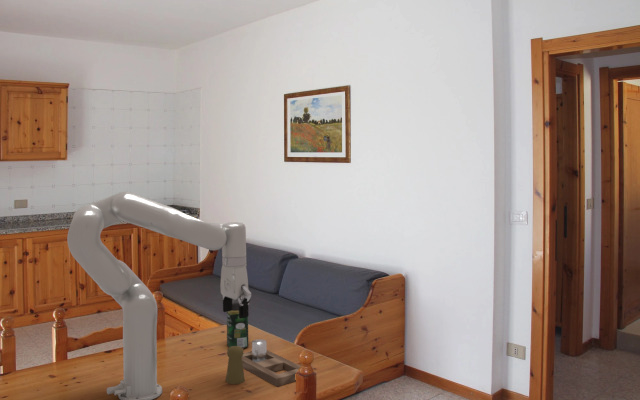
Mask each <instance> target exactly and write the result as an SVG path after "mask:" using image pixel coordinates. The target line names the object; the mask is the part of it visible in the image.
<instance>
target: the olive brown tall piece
mask: <svg viewBox="0 0 640 400" xmlns="http://www.w3.org/2000/svg"><path fill="white" fill-rule="evenodd" d="M243 353H244V348H242V347H240V346H232V347H228V348H227V351H226V355H227V357H228V361H227V368H226V376H225V383H227V384H229V385H239V384H242V383H244V382H245V373H244V372H245V371H244V368H243V363H242V356H243Z"/></svg>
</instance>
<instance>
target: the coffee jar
mask: <svg viewBox="0 0 640 400" xmlns="http://www.w3.org/2000/svg"><path fill="white" fill-rule="evenodd" d="M243 300H244V298H243V299H242V301H243ZM239 306H240V304H239V301H238V299H232V311H228V312H226V345H227V346H228V348H230V347H232V346H240V347H242V348H243V349H244V348H245V349H246V348H248V347H249V316H248V317H245V318H239Z"/></svg>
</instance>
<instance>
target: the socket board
mask: <svg viewBox="0 0 640 400" xmlns="http://www.w3.org/2000/svg"><path fill="white" fill-rule="evenodd" d="M242 363H243V370H246V371H248V372H249V373H251V374H253V375H255V376H256V377H259V378H260V379H262V380H264V381H265V382H268V383H269V384H270V385H273V386H275V387H281V386H283V385H284V386H285V385H287V384H291V383H294V382H296V381H295V374H296V372H297V371H298V369H299V368H300V367H301V365H299V364H297V363H295V362H293V361H291V360H289V359H286V358H284V357H283V356H281V355H279V354H276V353H274V352H272V351H270V350H268V349H266V360H264V361H260V362H254V361H252V350H251V351H247V352H243V356H242ZM283 370H284V371H285V372H281V373H276V372H279V371H283Z"/></svg>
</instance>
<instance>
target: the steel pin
mask: <svg viewBox="0 0 640 400" xmlns="http://www.w3.org/2000/svg"><path fill="white" fill-rule="evenodd" d="M267 345H268V344H267V340H265V339H262V338H260V339H253V340H252V341H251V351H252V361H254V362H260V361H264V360H266V350H267Z"/></svg>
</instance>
